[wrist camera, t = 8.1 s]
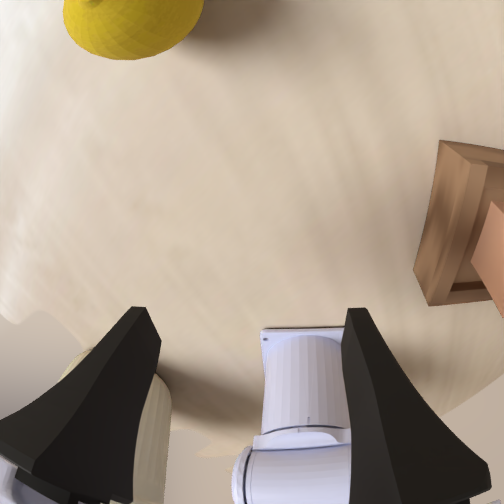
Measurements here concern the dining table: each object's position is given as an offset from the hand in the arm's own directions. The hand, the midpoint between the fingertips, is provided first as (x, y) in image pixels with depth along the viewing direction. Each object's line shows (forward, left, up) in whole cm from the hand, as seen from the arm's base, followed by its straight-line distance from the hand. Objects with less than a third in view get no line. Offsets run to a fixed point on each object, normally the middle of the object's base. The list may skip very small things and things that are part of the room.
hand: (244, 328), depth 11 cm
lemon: (+12, +4, -10) cm, 16 cm away
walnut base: (-1, -16, -10) cm, 19 cm away
